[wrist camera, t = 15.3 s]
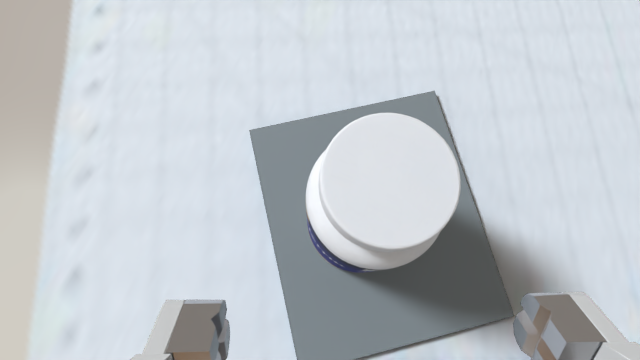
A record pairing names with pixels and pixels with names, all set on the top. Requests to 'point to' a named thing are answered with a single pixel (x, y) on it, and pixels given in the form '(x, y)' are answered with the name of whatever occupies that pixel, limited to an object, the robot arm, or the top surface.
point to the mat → (378, 286)
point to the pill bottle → (381, 193)
